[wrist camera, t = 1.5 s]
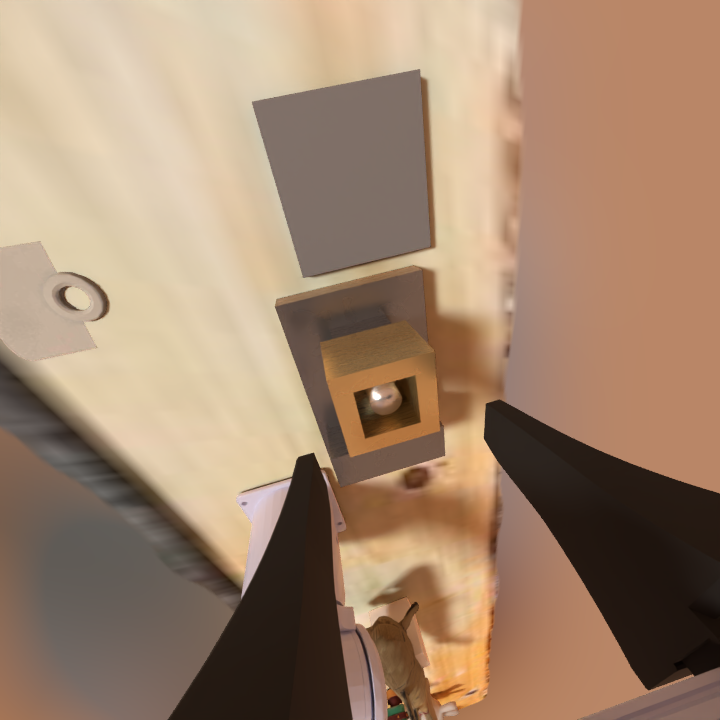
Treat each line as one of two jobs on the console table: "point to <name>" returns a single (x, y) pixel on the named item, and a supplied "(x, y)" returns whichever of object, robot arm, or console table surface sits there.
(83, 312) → the mounting bracket
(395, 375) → the wooden hollow block
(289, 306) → the gray fixture base
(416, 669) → the wood carving
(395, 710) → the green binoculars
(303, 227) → the rubber mat
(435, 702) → the bunny figurine
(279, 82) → the console table surface
